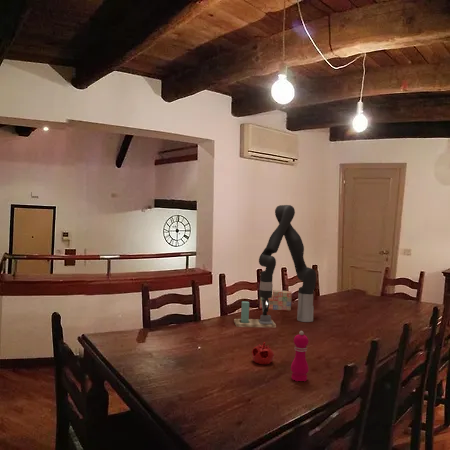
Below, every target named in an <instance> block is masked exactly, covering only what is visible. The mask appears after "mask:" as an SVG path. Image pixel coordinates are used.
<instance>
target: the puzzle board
mask: <svg viewBox="0 0 450 450" xmlns="http://www.w3.org/2000/svg"><path fill="white" fill-rule="evenodd" d="M258 320H260V319H259V318H257V319H256V318H249V322H248V323H241V318H234V319H233V322H234V324H235V326H236V328H239V327H240V328H273V329H274V328H277V324H276V323H275V322H274V320H273V319H271V321H272V323H273V324H260V323H259V321H258Z"/></svg>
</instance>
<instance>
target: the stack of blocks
mask: <svg viewBox="0 0 450 450" xmlns="http://www.w3.org/2000/svg"><path fill="white" fill-rule="evenodd" d="M292 294H293V293H292V291H290V290H276V289H274V290H273V289H272V297H271V298H268V300H269V309H268V310H276V311H277V310H280V311H291V310H292V296H293V295H292ZM262 300H263V298H262V297H260V296H259V309H262Z"/></svg>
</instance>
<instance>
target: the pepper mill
mask: <svg viewBox="0 0 450 450" xmlns="http://www.w3.org/2000/svg"><path fill="white" fill-rule="evenodd" d="M293 344H294V350H295V353H294V358H293V360H292V362H291V364H290V371H291V372H292V373H291V380H292V381H294V380H295V381H294V382H298V381H304V382H306V381H308V375H307V374H308V373H309V364H308V361H307V359H306V352H307V350H308V344H309V338H308V337H307V335H305V333H304V331H303V330H300V331H299V334H296V335H295V336H294V337H293Z"/></svg>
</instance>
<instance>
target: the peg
mask: <svg viewBox="0 0 450 450" xmlns="http://www.w3.org/2000/svg"><path fill="white" fill-rule="evenodd" d="M240 312H241V313H240V319H241V323H248V322H249V319H250V317H249V316H250V302H249V301H243V300H242V301H241V309H240Z"/></svg>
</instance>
